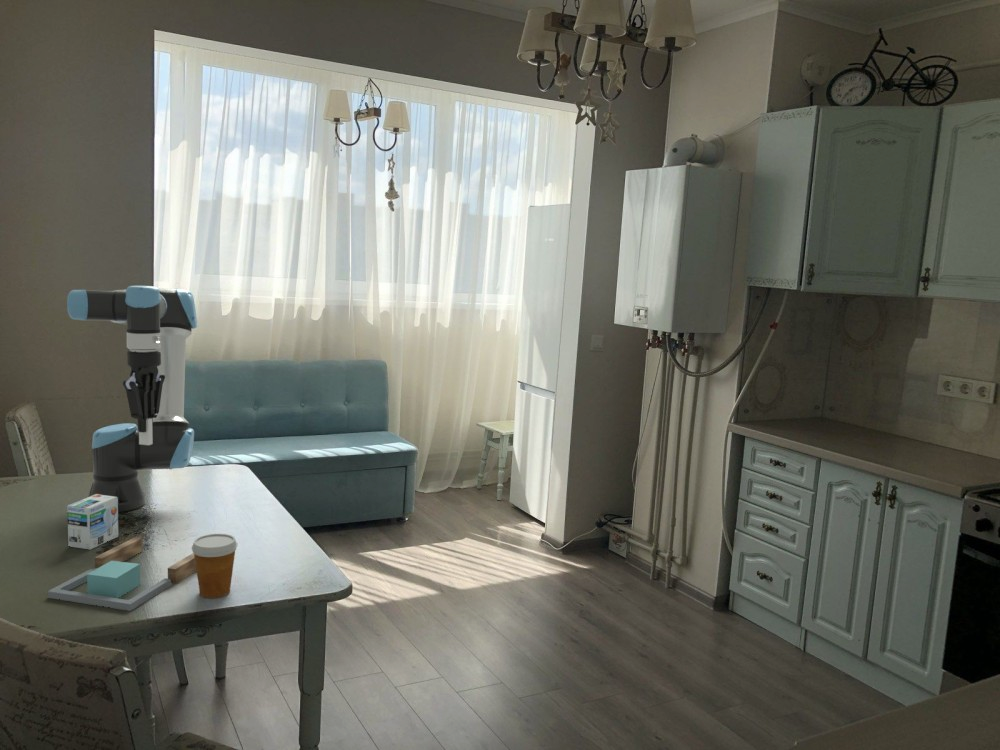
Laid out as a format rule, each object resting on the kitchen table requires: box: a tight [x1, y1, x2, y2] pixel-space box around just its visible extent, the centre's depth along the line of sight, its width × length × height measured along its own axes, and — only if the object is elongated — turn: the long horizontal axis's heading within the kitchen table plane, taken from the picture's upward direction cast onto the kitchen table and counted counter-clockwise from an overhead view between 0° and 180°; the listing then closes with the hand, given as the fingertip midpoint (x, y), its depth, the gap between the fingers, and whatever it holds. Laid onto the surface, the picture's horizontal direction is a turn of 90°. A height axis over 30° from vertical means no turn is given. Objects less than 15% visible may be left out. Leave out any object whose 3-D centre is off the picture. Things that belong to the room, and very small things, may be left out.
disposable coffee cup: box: [191, 533, 239, 599], centre depth 172 cm, size 10×10×12 cm
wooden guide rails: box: [94, 536, 197, 585], centre depth 185 cm, size 14×21×4 cm, turn 78°
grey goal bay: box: [47, 567, 172, 612], centre depth 171 cm, size 14×20×2 cm
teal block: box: [86, 561, 141, 599], centre depth 172 cm, size 8×7×5 cm
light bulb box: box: [66, 494, 119, 550], centre depth 198 cm, size 11×7×11 cm, turn 168°
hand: (145, 444), depth 194 cm, fingers closed
